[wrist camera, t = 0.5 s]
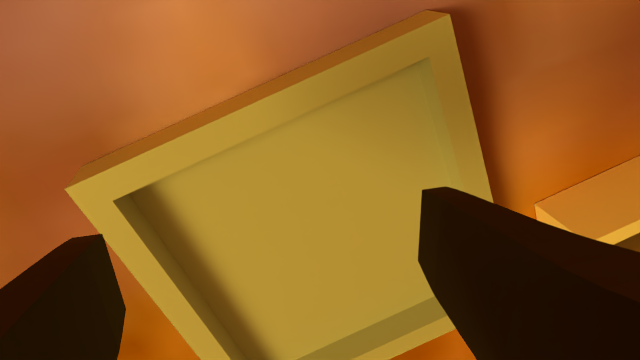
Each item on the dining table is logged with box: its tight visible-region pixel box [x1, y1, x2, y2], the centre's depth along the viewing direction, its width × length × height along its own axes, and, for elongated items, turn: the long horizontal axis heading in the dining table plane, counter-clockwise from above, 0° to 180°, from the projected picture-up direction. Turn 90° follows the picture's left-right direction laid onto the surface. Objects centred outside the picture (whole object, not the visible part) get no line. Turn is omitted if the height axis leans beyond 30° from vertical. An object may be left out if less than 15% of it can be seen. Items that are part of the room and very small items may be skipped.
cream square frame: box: [65, 10, 494, 360], centre depth 21 cm, size 16×16×2 cm
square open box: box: [534, 156, 640, 245], centre depth 24 cm, size 8×8×4 cm
